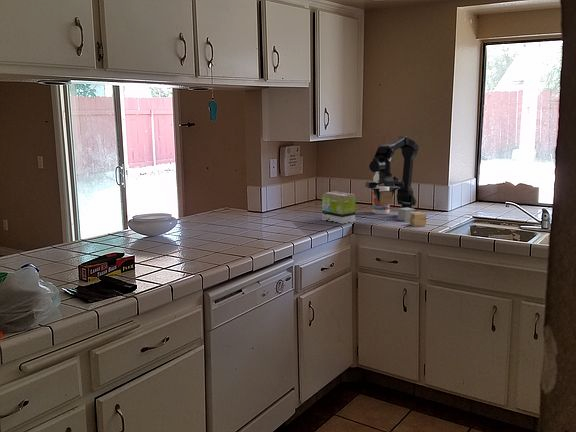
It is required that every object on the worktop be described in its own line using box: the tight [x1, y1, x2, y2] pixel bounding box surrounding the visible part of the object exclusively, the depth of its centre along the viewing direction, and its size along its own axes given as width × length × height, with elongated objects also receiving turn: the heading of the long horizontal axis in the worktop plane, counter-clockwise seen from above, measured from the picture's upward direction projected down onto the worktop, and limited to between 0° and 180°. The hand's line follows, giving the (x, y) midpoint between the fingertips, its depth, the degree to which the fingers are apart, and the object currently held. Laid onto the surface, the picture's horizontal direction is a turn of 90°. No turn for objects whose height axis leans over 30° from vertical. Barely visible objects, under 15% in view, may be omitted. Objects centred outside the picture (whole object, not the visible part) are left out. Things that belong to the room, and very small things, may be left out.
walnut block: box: [377, 191, 393, 205], centre depth 295 cm, size 6×6×6 cm
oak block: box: [409, 211, 427, 227], centre depth 289 cm, size 6×6×6 cm
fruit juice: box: [371, 172, 391, 215], centre depth 322 cm, size 9×9×28 cm
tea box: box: [321, 190, 356, 225], centre depth 300 cm, size 15×10×15 cm, turn 42°
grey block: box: [397, 207, 416, 222], centre depth 303 cm, size 6×6×6 cm
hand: (384, 201), depth 295 cm, fingers closed on walnut block, 6 cm apart
